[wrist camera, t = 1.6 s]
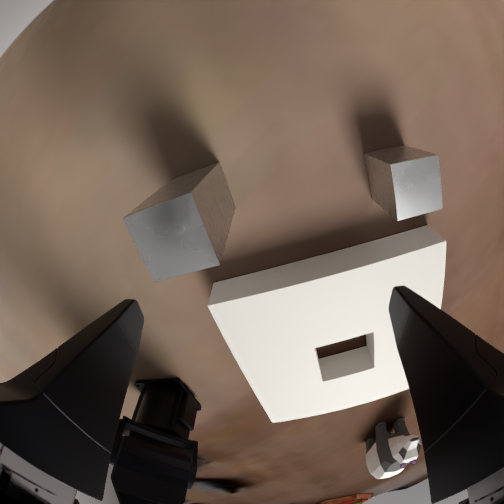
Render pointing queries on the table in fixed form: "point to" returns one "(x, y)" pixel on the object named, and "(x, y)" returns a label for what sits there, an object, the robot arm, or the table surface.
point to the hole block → (326, 322)
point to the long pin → (184, 224)
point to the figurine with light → (349, 499)
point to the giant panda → (391, 450)
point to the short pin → (404, 181)
